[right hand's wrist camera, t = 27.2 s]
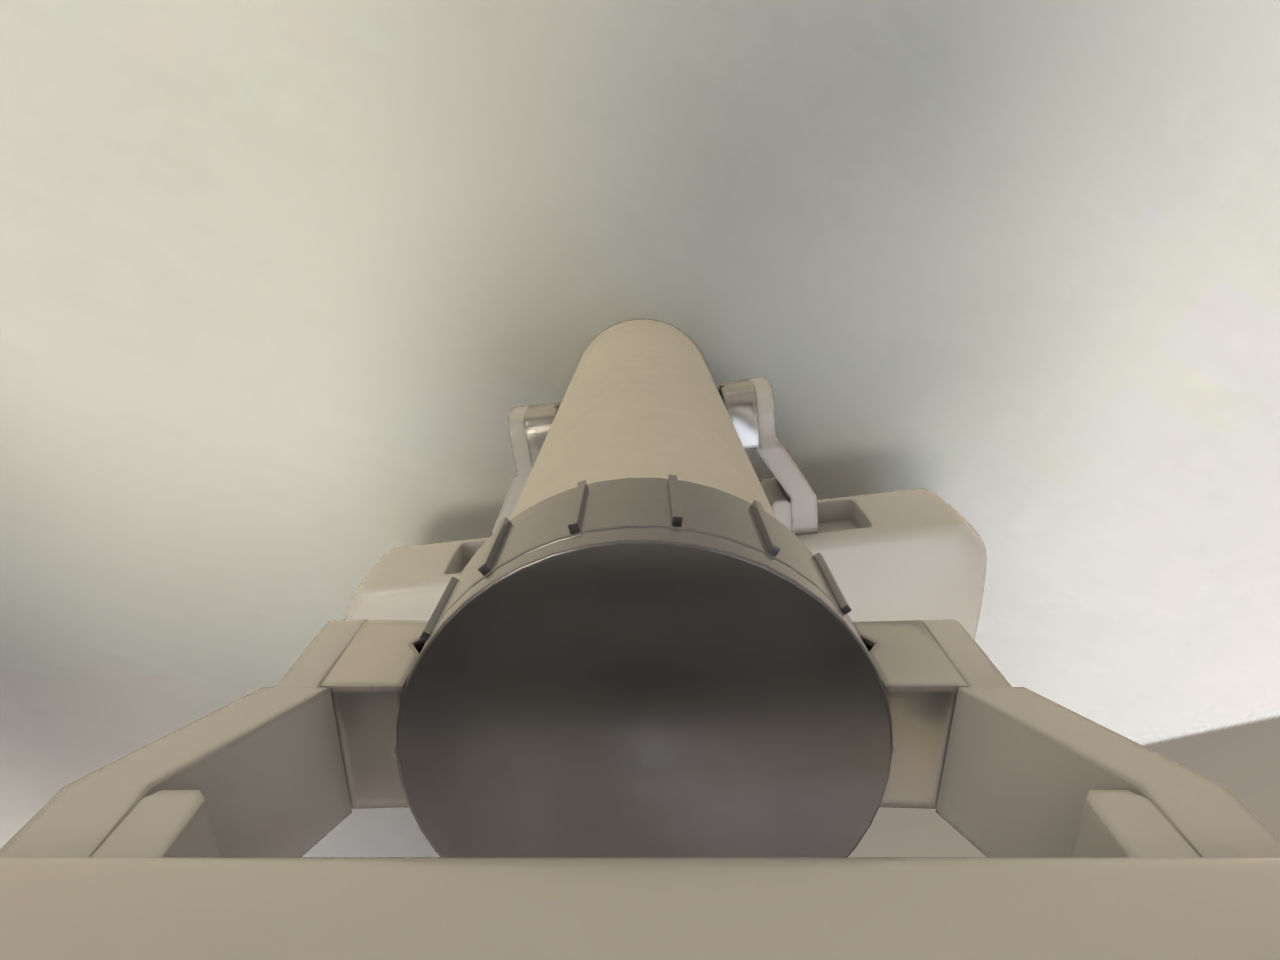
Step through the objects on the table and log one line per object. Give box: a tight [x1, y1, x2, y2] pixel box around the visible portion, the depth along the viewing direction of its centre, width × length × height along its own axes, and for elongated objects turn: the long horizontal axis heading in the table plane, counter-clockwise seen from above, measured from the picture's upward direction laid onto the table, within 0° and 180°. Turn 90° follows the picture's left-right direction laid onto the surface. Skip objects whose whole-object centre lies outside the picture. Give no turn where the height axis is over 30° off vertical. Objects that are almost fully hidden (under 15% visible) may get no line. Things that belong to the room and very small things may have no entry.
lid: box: [396, 474, 893, 858], centre depth 9 cm, size 6×6×2 cm
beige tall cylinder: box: [510, 319, 776, 520], centre depth 18 cm, size 5×5×19 cm
